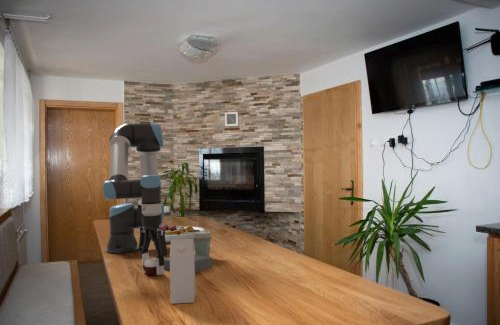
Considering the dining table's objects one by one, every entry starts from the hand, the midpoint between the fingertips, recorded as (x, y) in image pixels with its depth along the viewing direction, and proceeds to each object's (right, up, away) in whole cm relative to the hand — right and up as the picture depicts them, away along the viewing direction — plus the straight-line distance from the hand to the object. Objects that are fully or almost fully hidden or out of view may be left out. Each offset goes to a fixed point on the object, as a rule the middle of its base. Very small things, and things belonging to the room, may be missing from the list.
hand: (152, 271), depth 151 cm
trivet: (+12, -1, +8) cm, 15 cm away
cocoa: (0, -1, 0) cm, 1 cm away
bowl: (-3, -2, +72) cm, 72 cm away
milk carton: (+17, -1, -29) cm, 34 cm away
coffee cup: (+17, -1, +23) cm, 28 cm away
